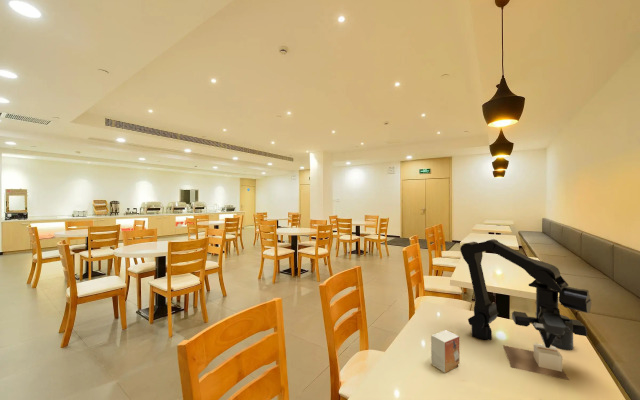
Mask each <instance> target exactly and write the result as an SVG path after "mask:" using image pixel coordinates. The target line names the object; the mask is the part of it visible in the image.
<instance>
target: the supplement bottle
mask: <svg viewBox="0 0 640 400" xmlns="http://www.w3.org/2000/svg"><path fill="white" fill-rule="evenodd" d="M560 316H561V318H566V319H570V318H569V316H566V315H564V314H560ZM551 346H553V347H556V349H559V350H561V351H562V350H563V351H573V350H574V333H573V332H572V331H570V332H567V331H565V333H564V335H557V336H556V337H555V338H554V340H553V342H552V344H551Z"/></svg>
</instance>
